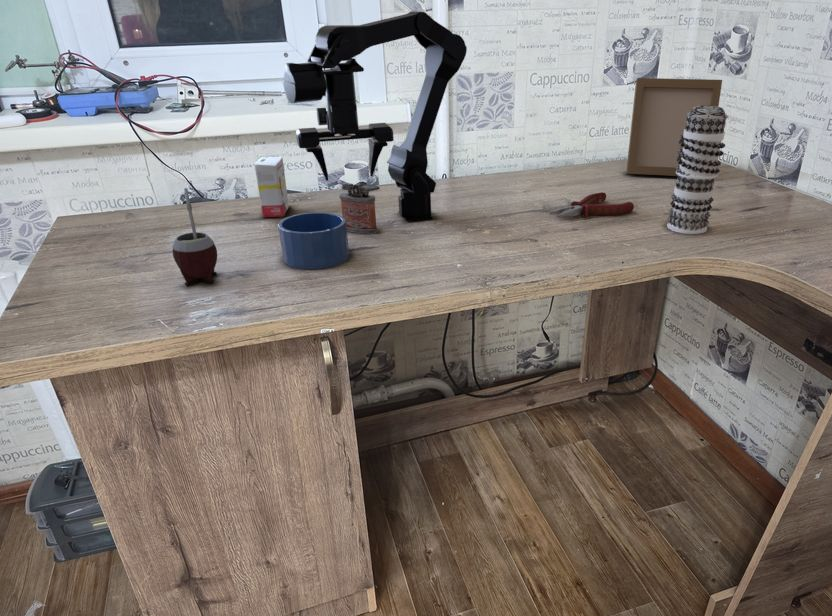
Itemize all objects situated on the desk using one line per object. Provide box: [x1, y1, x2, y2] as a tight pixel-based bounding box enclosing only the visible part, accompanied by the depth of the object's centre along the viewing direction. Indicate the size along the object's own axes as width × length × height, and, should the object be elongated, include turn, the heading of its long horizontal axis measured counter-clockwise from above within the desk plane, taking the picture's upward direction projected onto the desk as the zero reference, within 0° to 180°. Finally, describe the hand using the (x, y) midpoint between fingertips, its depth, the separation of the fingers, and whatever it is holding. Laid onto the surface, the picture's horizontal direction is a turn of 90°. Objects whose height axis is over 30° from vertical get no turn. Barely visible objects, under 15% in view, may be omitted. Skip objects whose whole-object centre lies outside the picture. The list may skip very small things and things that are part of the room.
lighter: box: [338, 182, 379, 234], centre depth 133 cm, size 8×3×10 cm, turn 71°
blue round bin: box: [277, 211, 350, 270], centre depth 120 cm, size 12×12×7 cm
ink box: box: [253, 156, 290, 218], centre depth 143 cm, size 9×5×12 cm, turn 5°
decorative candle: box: [666, 105, 729, 235], centre depth 131 cm, size 9×9×25 cm
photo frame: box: [625, 77, 723, 177], centre depth 174 cm, size 15×22×25 cm
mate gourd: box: [172, 187, 218, 287], centre depth 108 cm, size 8×8×15 cm
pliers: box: [548, 191, 635, 218], centre depth 146 cm, size 12×20×3 cm, turn 122°
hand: (349, 178), depth 130 cm, fingers open, 9 cm apart
